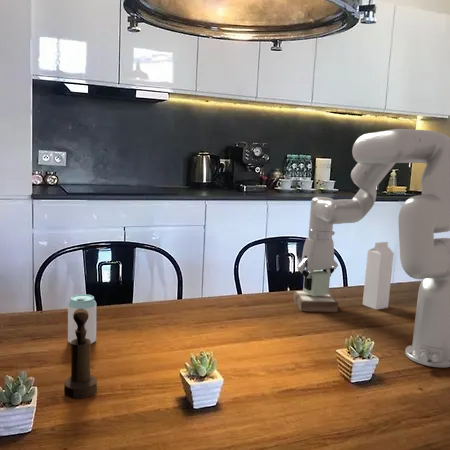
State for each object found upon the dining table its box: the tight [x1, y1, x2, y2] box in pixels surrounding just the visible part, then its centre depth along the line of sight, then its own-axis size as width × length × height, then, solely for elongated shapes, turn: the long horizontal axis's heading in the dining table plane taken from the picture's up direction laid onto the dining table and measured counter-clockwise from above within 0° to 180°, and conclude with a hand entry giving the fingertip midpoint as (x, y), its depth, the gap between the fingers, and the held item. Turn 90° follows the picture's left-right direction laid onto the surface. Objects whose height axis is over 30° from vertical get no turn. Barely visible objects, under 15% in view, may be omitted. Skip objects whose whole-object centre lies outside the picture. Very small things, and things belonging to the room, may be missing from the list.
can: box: [67, 293, 97, 345], centre depth 136 cm, size 7×7×12 cm
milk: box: [362, 241, 395, 311], centre depth 178 cm, size 6×6×22 cm
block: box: [302, 270, 331, 296], centre depth 176 cm, size 6×6×7 cm
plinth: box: [292, 290, 339, 313], centre depth 177 cm, size 12×12×3 cm
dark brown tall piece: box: [63, 309, 98, 400], centre depth 110 cm, size 7×6×18 cm
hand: (316, 288), depth 176 cm, fingers closed on block, 6 cm apart
